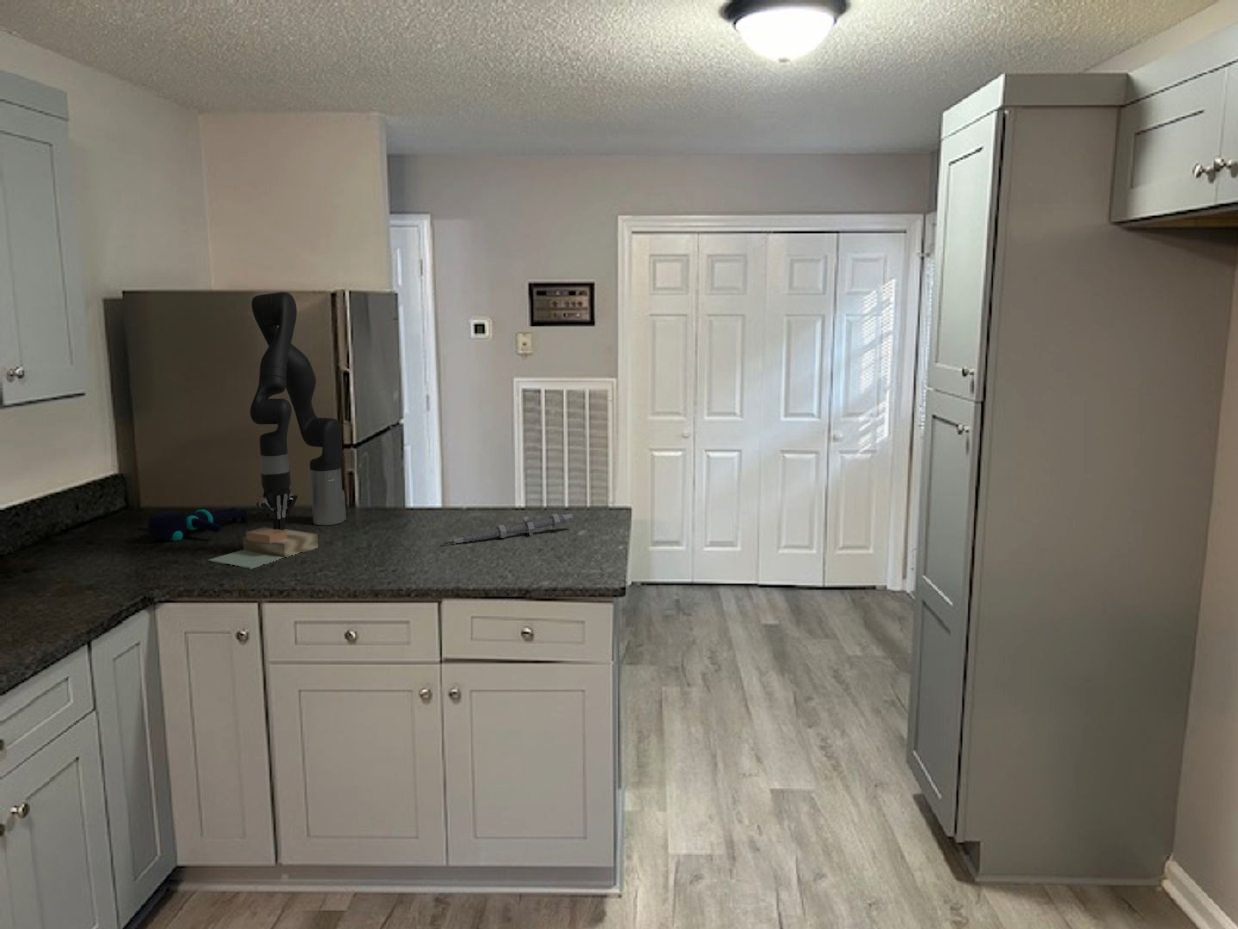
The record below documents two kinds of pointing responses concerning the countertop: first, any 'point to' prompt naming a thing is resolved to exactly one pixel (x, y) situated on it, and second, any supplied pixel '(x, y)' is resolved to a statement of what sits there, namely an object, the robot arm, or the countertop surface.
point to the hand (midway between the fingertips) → (279, 531)
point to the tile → (266, 535)
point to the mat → (246, 559)
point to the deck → (284, 544)
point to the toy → (190, 522)
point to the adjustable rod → (516, 528)
